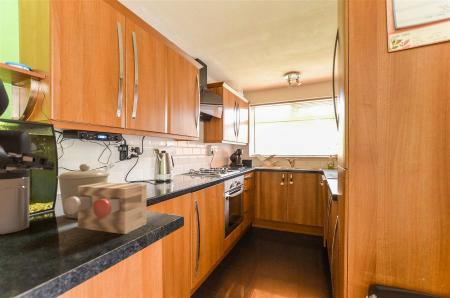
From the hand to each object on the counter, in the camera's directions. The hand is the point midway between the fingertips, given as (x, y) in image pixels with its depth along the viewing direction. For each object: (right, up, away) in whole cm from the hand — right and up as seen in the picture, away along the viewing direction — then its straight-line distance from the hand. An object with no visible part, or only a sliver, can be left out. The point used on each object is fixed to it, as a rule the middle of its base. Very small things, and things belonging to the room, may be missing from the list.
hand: (38, 168), depth 58 cm
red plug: (+15, -15, +9) cm, 23 cm away
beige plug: (+4, -15, +13) cm, 20 cm away
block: (+11, -22, +17) cm, 30 cm away
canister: (-7, -22, +30) cm, 38 cm away
